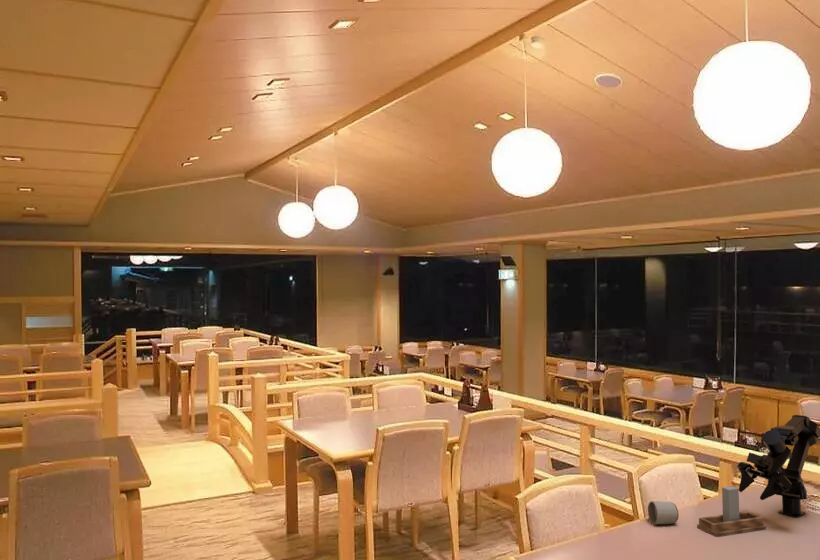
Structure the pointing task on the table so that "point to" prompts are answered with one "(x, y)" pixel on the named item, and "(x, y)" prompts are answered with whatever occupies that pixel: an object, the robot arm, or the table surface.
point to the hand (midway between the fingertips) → (750, 495)
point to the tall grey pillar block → (730, 503)
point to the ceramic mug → (662, 512)
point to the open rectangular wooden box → (731, 524)
